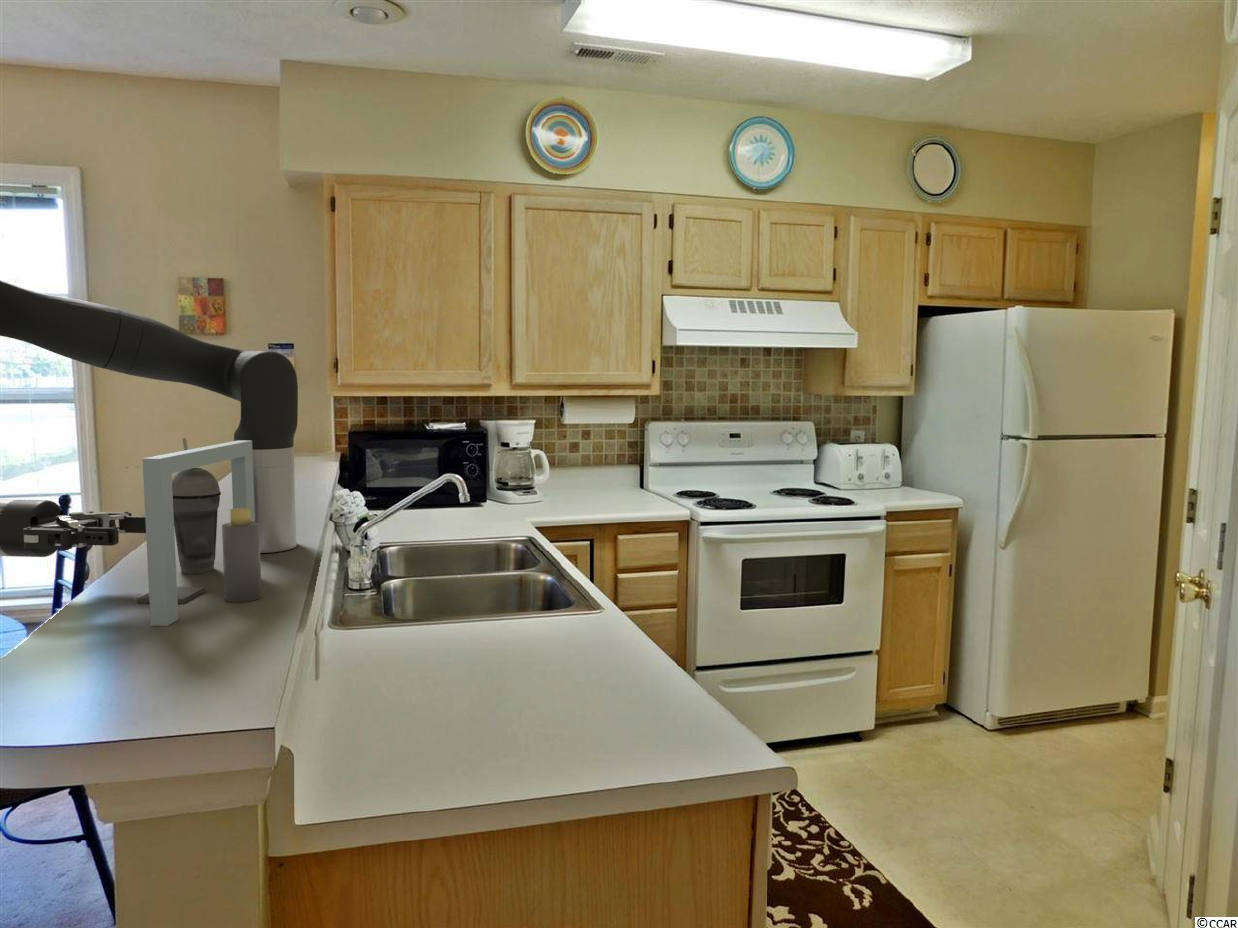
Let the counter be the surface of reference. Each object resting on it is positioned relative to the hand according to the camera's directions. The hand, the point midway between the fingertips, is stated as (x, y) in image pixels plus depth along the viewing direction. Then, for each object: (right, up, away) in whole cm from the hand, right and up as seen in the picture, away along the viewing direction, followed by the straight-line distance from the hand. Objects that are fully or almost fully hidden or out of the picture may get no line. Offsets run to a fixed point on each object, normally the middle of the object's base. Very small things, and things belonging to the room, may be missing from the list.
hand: (136, 530), depth 112 cm
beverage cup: (0, -7, +16) cm, 18 cm away
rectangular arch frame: (+9, -9, +1) cm, 13 cm away
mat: (+4, -9, +1) cm, 10 cm away
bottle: (+14, -9, +1) cm, 16 cm away
